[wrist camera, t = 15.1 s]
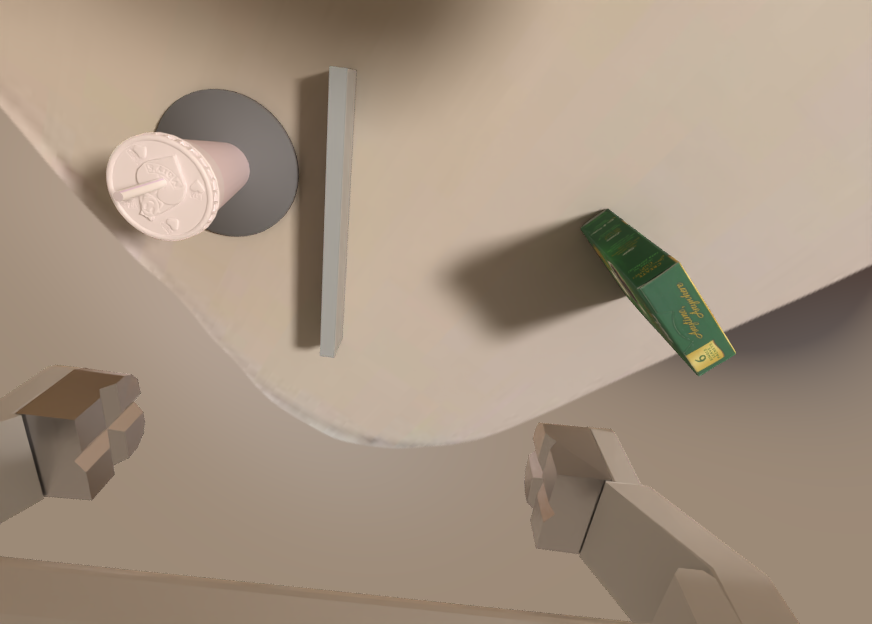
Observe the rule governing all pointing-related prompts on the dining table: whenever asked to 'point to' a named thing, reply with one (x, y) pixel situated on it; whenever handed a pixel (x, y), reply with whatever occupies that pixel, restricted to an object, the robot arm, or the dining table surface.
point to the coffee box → (659, 291)
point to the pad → (259, 142)
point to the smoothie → (173, 182)
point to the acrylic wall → (337, 205)
